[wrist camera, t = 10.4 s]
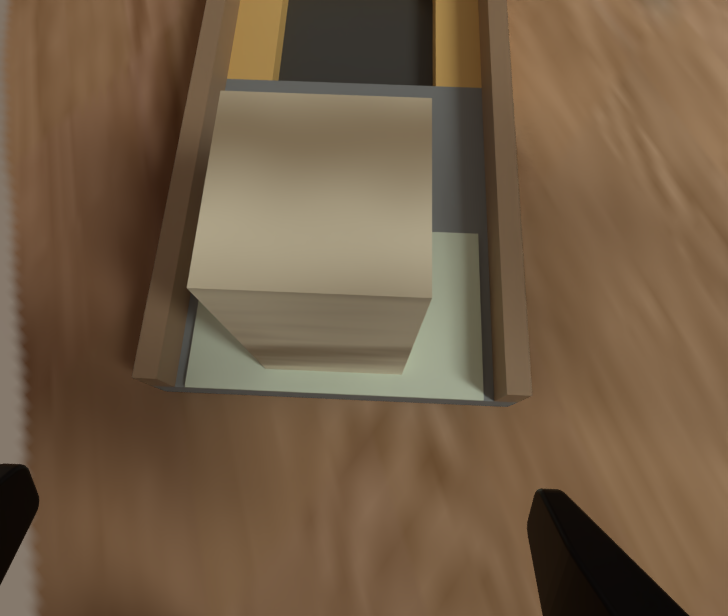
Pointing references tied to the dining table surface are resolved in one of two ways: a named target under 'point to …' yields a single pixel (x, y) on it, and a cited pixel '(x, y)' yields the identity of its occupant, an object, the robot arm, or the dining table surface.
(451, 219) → the trough deck
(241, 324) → the maple block
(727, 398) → the dining table surface
